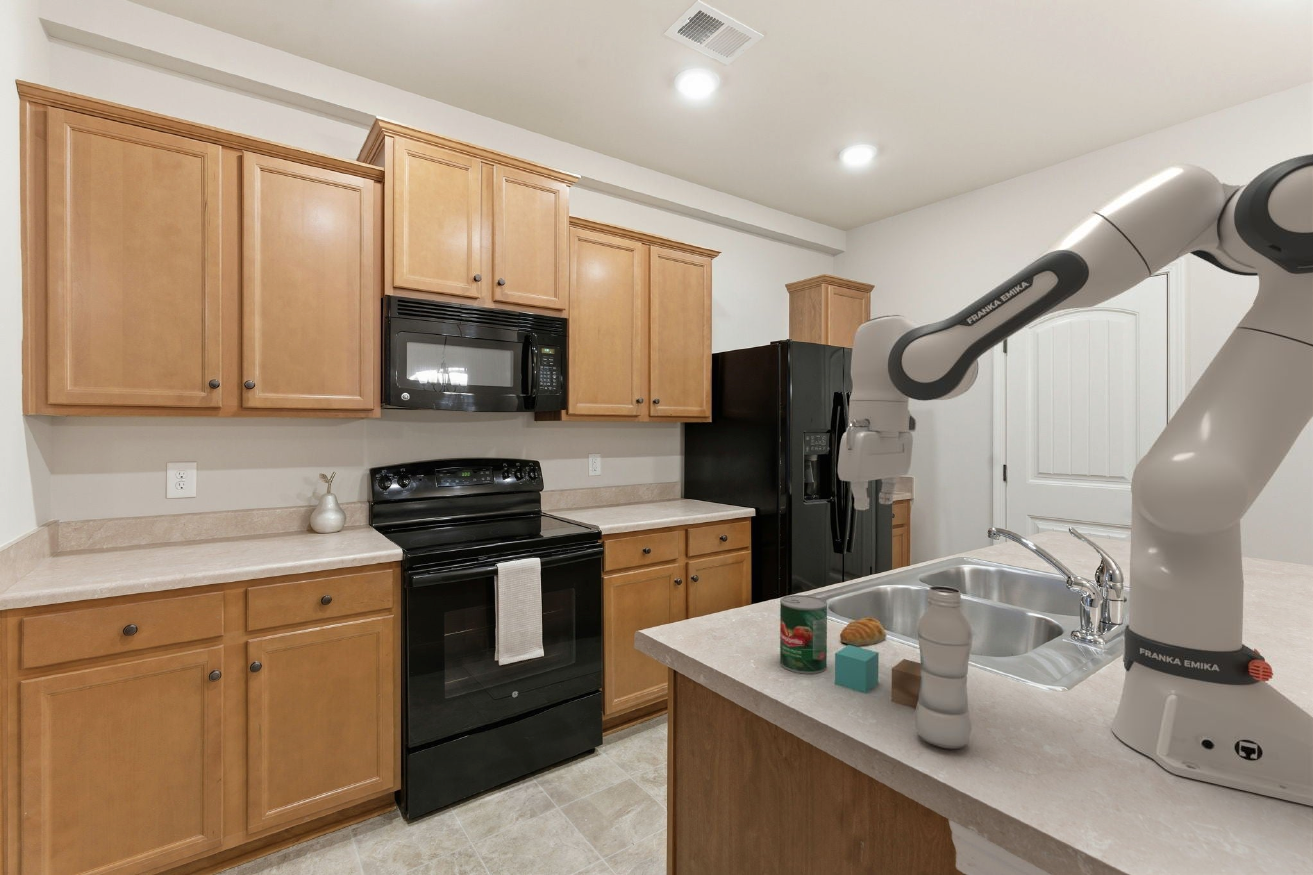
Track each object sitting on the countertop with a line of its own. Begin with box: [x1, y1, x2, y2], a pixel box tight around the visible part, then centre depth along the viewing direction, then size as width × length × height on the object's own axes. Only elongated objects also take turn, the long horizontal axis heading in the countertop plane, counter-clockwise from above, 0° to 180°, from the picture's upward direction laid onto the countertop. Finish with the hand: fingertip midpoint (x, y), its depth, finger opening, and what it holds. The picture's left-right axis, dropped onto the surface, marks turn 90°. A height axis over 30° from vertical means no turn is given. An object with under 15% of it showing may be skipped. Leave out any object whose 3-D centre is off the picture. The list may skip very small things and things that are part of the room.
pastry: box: [839, 617, 887, 647], centre depth 117 cm, size 9×7×4 cm
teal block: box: [834, 644, 880, 694], centre depth 97 cm, size 5×5×5 cm
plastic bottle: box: [914, 585, 974, 750], centre depth 79 cm, size 6×7×20 cm
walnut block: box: [890, 658, 921, 709], centre depth 91 cm, size 5×5×5 cm
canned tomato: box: [779, 594, 828, 675], centre depth 105 cm, size 8×8×11 cm
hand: (874, 506), depth 97 cm, fingers open, 8 cm apart
